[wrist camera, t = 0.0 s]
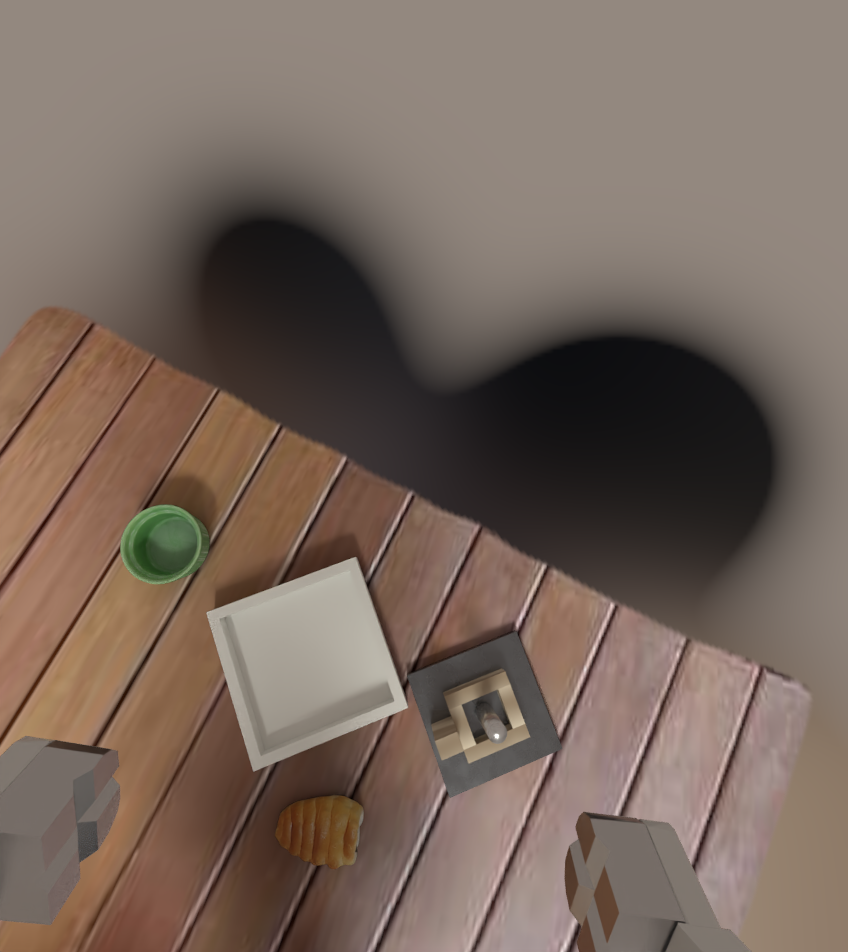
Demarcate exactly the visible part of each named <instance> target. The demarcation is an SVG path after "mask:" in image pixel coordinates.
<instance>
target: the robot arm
mask: <svg viewBox="0 0 848 952" xmlns="http://www.w3.org/2000/svg"><path fill="white" fill-rule="evenodd" d="M118 767H119V760H118V751H116V750H112V749H106V748H100V747H94V746H88V745H82V744H76V743H69V742H63V741H57V740H49V739H43V738H36V737H30V736H25V737H23V738H22V739H20V740H18V741H16V742H14V743H13V744H12V745H11V746H10V747H9V748H8V749H7V750H6V751H5V752H4V753H3V754H2V755H1V756H0V920H2V921H13V922H24V923H35V924H46V925H51V924H52V922H53V920H54V919H55V917H56V916H57V914H58V913H59V911H60V909H61V908H62V906H63V905H64V903H65V902H66V900H67V898H68V897H69V895H70V894H71V892H72V890H73V889H74V887H75V886H76V884H77V883H78V881H79V879H80V862H81V861H83V860H84V859H86V858H87V857H88V856H90V855H91V854H93V853H94V852H96V851H97V850H98V849H99V848H100V846H101V844H102V843H103V841H104V839H105V838H106V836H107V834H108V833H109V831H110V828H111V826H112V824H113V821H114V819H115V816H116V814H117V811H118V806H119V800H120V785H119V784H118V783H117V782H116V781H115V779H114V778H113V777H112V775H113V774H114V773H115V771H116V770H117V768H118ZM576 831H577V835H578V840H577V841H575V842H574V843H572V844H571V845H570V846H569V849H568V852H567V856H566V860H565V887H566V895H567V900H568V904H569V909H570V912H571V913H572V914H573V916H574V917H575V918H576V920H577V921H578V922H579V923H580V925H581V926H582V929H581V932H580V935H579V937H578V940H577V945H578V949H579V952H751V950H750V949H749V948H747V946H746V945H745V944H744V943H743V942H742V941H741V940H740V939H739V938H738V937H737V936H736V935H735V934H734V933H733V932H732V931H731V930H729V929H723V928H721V927H720V925H719V923H718V921H717V919H716V916H715V914H714V912H713V910H712V908H711V906H710V904H709V902H708V899H707V897H706V895H705V893H704V891H703V889H702V887H701V885H700V882H699V880H698V878H697V876H696V874H695V872H694V870H693V868H692V865H691V863H690V861H689V859H688V857H687V855H686V853H685V851H684V848H683V846H682V844H681V842H680V840H679V838H678V836H677V834H676V832H675V829H674V828H673V827H672V826H671V825H670V824H669V823H665V822H657V821H650V820H642V819H639V820H638V819H637V818H631V817H622V816H614V815H606V814H597V813H589V812H583V813H582V814H581V815H580V816H579V818H578V821H577V824H576Z"/></svg>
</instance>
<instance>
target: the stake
mask: <svg viewBox="0 0 848 952" xmlns="http://www.w3.org/2000/svg"><path fill="white" fill-rule="evenodd" d="M501 668H502V669H503V670H504V671H505V672H506V675H507V677H508V680H509V682H510V685H511V688H512V690H513V693H514V695H515V698H516V701H517V703H518V706H519V709H520V711H521V714H522V716H523V719H524V722H525V724H526V727H527V729H528V732H529V735H530V737H529V738H527V739H525V740H522V741H520V742H518V743H515V744H513V745H511V746H508V747H506V748H504V749H501V750H499V751H497V752H495V753H492V754H490V755H488V756H485V757H483V758H481V759H478V760H476V761H474V762H471V763H469V764H468V761H467V758H466V755H465V753H464V751H463V752H461V753H458V754H456V755H454V756H451V757H449V758H447V759H444V760H441V757H440V754H439V751H438V749H437V746H436V743H435V739H434V735H433V730H432V726H431V724H433V723H436V722H438V721H440V720H443V719H445V718H448V717H450V716H451V714H450V711H449V708H448V705H447V703H446V700H445V697H444V694H443V692H445V691H448V690H450V689H452V688H455V687H457V686H460V685H462V684H465V683H467V682H469V681H472V680H474V679H477V678H479V677H482V676H484V675H486V674H489V673H491V672H494V671H496V670H499V669H501ZM407 677H408V680H409V683H410V685H411V688H412V691H413V694H414V697H415V700H416V703H417V705H418V708H419V711H420V714H421V717H422V720H423V722H424V725H425V728H426V731H427V734H428V737H429V740H430V742H431V745H432V748H433V751H434V754H435V757H436V759H437V762H438V765H439V768H440V771H441V774H442V777H443V779H444V782H445V785H446V788H447V791H448V794H449V796H450V798H451V797H453V796H455V795H458V794H460V793H462V792H464V791H467V790H469V789H471V788H474V787H476V786H478V785H480V784H483V783H485V782H487V781H490V780H492V779H494V778H496V777H499V776H501V775H503V774H506V773H508V772H510V771H512V770H515V769H517V768H519V767H522V766H524V765H526V764H528V763H531V762H533V761H535V760H538V759H540V758H542V757H544V756H547V755H549V754H551V753H554V752H556V751H558V750H560V749H562V747H561V744H560V741H559V739H558V736H557V734H556V731H555V729H554V726H553V724H552V721H551V718H550V716H549V713H548V711H547V708H546V706H545V703H544V700H543V698H542V695H541V693H540V690H539V688H538V685H537V683H536V680H535V677H534V675H533V672H532V670H531V667H530V665H529V662H528V660H527V657H526V654H525V652H524V649H523V647H522V644H521V642H520V639H519V636H518V634H517V631H515V630H514V631H512V632H510V633H507V634H505V635H502V636H500V637H497V638H495V639H492V640H490V641H487V642H485V643H482V644H480V645H477V646H475V647H472V648H470V649H467V650H465V651H463V652H460V653H458V654H455V655H453V656H450V657H448V658H445V659H443V660H440V661H438V662H435V663H433V664H430V665H428V666H425V667H423V668H421V669H418V670H416V671H413V672H411V673H408V674H407ZM462 707H463V710H464V713H465V716H466V718H467V721H468V724H469V727H470V729H471V732H472V735H473V738H474V739H475V738H477V737H479V736H482V735H484V734H487V736H488V738H489V739H490V741H491V742H493V743H495V744H500V743H502V742H504V741H505V739H506V737H507V729H506V727H505V725H507V724H509V722H508V719H507V716H506V714H505V711H504V708H503V706H502V703H501V700H500V698H499V695H498V693H497V690H495V691H493V692H491V693H488V694H486V695H483V696H481V697H479V698H476V699H474V700H471V701H469V702H467V703H464V704H462Z"/></svg>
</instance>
